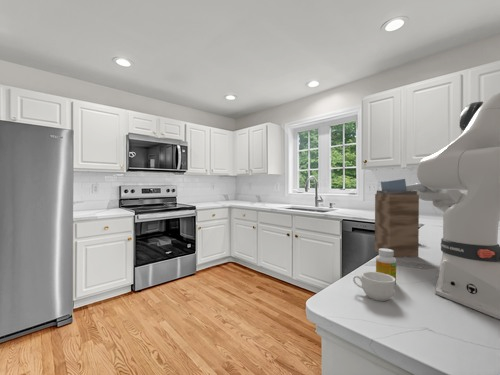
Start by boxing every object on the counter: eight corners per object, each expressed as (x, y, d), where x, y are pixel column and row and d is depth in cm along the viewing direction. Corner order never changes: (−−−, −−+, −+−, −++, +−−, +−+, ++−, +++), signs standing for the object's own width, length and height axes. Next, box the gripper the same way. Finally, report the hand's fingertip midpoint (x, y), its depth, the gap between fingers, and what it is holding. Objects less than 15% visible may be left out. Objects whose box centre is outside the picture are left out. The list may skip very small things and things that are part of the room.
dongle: (436, 187, 108) (434, 174, 107) (389, 194, 105) (387, 181, 105) (426, 187, 112) (425, 175, 112) (382, 194, 110) (380, 181, 110)
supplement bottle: (393, 286, 71) (393, 253, 71) (373, 281, 75) (373, 249, 75) (398, 281, 75) (398, 249, 75) (379, 277, 79) (379, 246, 79)
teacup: (397, 296, 65) (397, 275, 65) (393, 307, 59) (393, 284, 59) (356, 286, 71) (356, 268, 71) (349, 296, 65) (349, 275, 65)
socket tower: (419, 256, 104) (420, 191, 104) (389, 257, 102) (390, 190, 102) (402, 250, 114) (402, 190, 114) (374, 251, 112) (375, 190, 112)
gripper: (428, 193, 121) (406, 179, 120) (470, 194, 101) (444, 177, 100) (422, 205, 121) (400, 190, 119) (463, 208, 100) (437, 190, 99)
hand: (420, 184), depth 109 cm, fingers closed on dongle, 4 cm apart
